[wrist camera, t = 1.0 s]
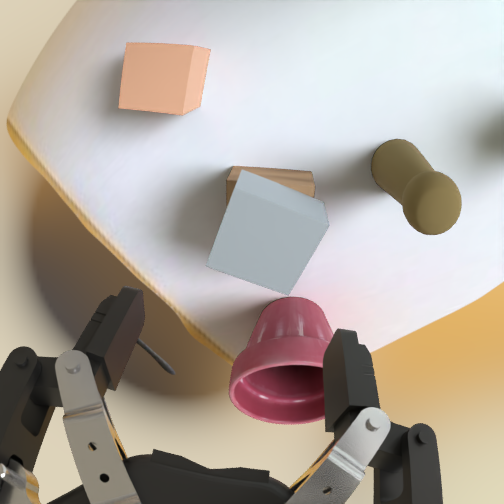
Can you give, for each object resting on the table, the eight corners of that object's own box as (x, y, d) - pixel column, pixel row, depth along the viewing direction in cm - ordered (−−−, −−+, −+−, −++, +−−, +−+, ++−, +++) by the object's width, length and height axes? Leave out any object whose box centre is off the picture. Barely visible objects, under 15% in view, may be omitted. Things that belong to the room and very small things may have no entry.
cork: (360, 175, 31) (390, 226, 22) (389, 127, 27) (436, 160, 18) (403, 202, 32) (441, 258, 22) (432, 158, 28) (484, 201, 19)
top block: (242, 169, 27) (234, 187, 24) (323, 202, 28) (329, 225, 25) (215, 240, 32) (205, 266, 28) (288, 266, 33) (288, 295, 29)
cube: (153, 45, 25) (126, 42, 20) (210, 49, 25) (194, 45, 20) (145, 99, 28) (118, 108, 23) (200, 106, 28) (182, 115, 23)
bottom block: (233, 165, 32) (226, 180, 28) (311, 170, 31) (315, 186, 28) (233, 232, 36) (227, 253, 32) (303, 237, 36) (304, 259, 32)
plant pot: (319, 263, 37) (329, 346, 26) (357, 333, 43) (369, 408, 32) (221, 303, 42) (202, 382, 32) (271, 361, 48) (266, 432, 38)
